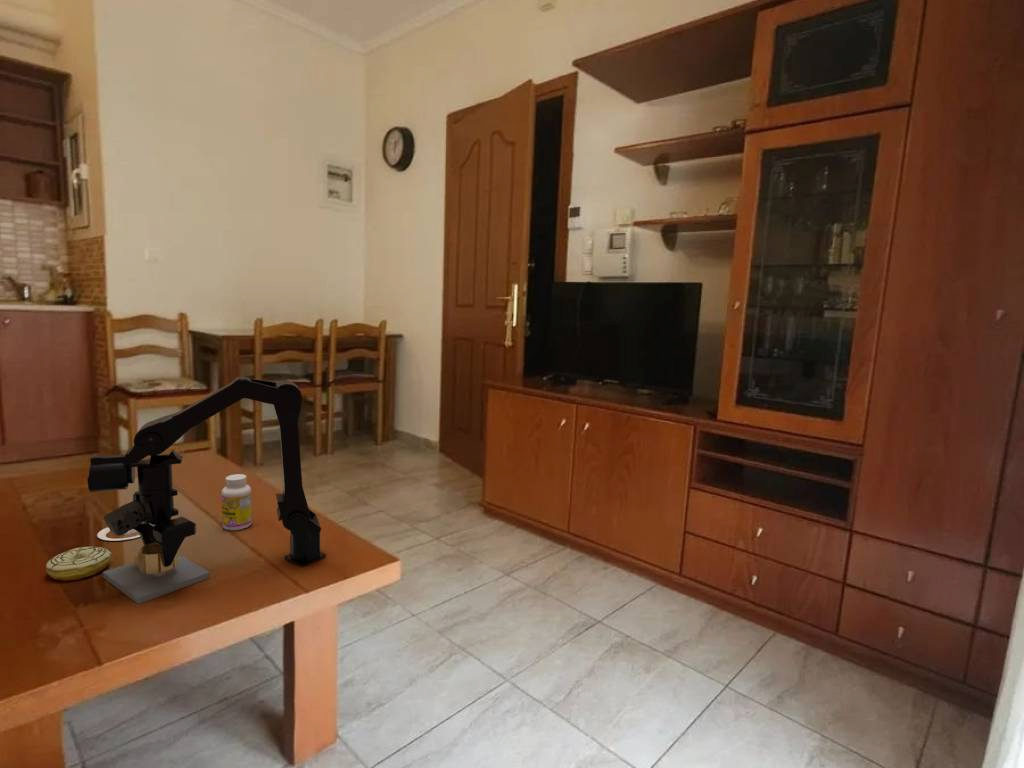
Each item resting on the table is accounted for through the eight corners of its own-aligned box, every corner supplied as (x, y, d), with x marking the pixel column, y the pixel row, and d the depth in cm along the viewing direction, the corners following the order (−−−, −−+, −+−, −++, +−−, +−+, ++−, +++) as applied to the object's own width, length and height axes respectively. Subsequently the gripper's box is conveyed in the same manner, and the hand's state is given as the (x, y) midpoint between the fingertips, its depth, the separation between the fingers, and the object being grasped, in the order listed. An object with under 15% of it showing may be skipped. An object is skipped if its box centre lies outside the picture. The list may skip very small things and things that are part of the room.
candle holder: (127, 546, 126) (126, 528, 126) (84, 539, 129) (83, 522, 128) (169, 526, 138) (169, 510, 137) (129, 521, 140) (128, 504, 140)
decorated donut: (116, 556, 121) (115, 539, 120) (106, 577, 112) (105, 560, 111) (55, 564, 116) (54, 547, 116) (40, 587, 107) (39, 569, 106)
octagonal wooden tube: (184, 565, 112) (183, 546, 111) (149, 577, 106) (148, 557, 106) (169, 556, 115) (168, 537, 115) (134, 567, 110) (133, 548, 109)
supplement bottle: (216, 527, 137) (214, 477, 136) (240, 519, 143) (239, 471, 142) (234, 533, 134) (232, 482, 133) (257, 524, 140) (256, 475, 139)
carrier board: (209, 577, 113) (208, 558, 112) (138, 604, 102) (137, 582, 102) (172, 555, 122) (171, 537, 121) (103, 577, 111) (101, 557, 111)
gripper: (88, 485, 107) (93, 562, 109) (130, 508, 97) (134, 592, 99) (151, 473, 116) (155, 543, 118) (195, 492, 106) (199, 569, 108)
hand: (159, 561), depth 111 cm, fingers closed on octagonal wooden tube, 6 cm apart
